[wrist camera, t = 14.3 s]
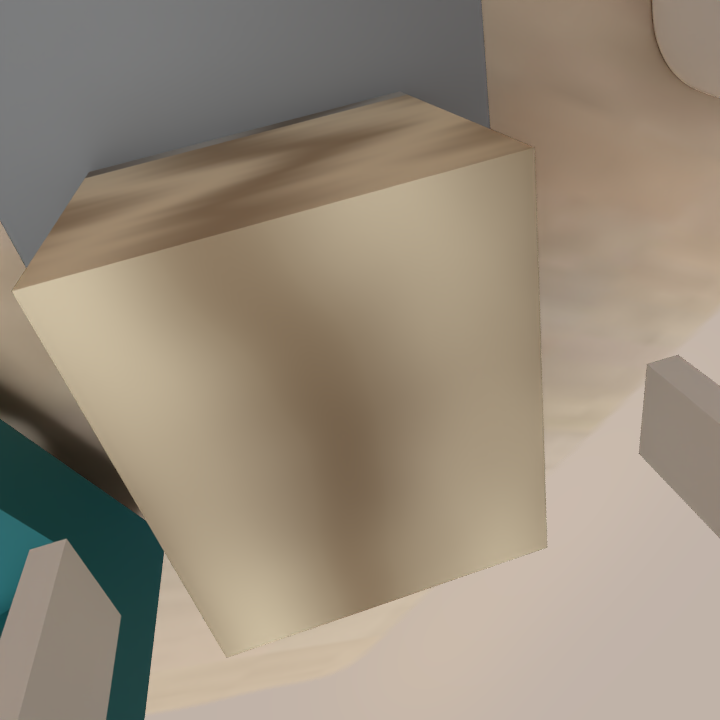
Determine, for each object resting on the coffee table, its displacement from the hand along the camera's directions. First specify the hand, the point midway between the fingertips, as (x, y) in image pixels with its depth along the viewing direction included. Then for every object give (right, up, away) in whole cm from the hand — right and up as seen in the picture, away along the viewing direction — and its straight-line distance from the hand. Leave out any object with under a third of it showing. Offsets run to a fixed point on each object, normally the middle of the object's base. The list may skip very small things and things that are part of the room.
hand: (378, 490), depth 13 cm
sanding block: (-3, +5, +8) cm, 10 cm away
